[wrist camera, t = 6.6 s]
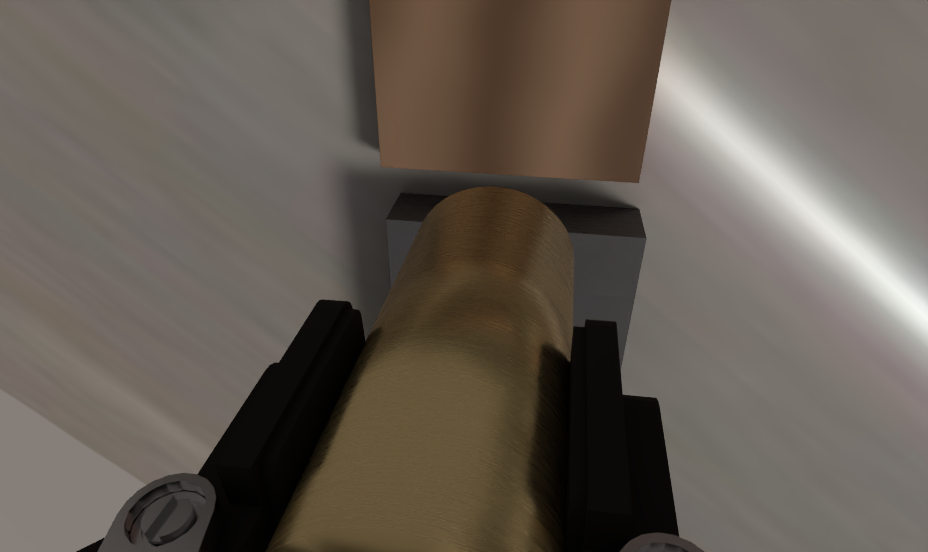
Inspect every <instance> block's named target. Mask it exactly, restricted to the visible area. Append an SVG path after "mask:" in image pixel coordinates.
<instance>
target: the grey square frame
mask: <svg viewBox="0 0 928 552" xmlns="http://www.w3.org/2000/svg"><path fill="white" fill-rule="evenodd" d="M447 197H449V196H435V195H420V194H405V193H400V195H399V197H398V199H397V201H396V202H395V204H394V206H393V208H392V209H391V211H390V213H389V215H388V217H387V218H386V227H387V241H388V255H389V269H390V283H391V287H392V285H393V283H394V281H395V279H396V277H397V275H398V273H399V271H400V268H401V266H402V264H403V262H404V260H405V258H406V256H407V254H408V252H409V250H410V248H411V245H412V243H413V241H414V239H415V237H416V235H417V233H418V231H419V229H420V227H421V224H422V222H423V220H424V219H425V218H426V216H427V215H428V213H429V212H430V211H431V210H432V209H433V208H434V207H435V206H436V205H437V204H438V203H440V202H441V201H442V200H444V199H445V198H447ZM543 204H544V205H546V206H547V207H548V208H549V209H550V210H551V211H552V212H553V213H554V214H555V215H556V216H557V217H558V218H559V219H560V221H561V222H562V224H563V225H564V227H565V228H566V230H567V232H568V234H569V237H570V239H571V243H572V246H573V252H574V288H573V326H578V327H585V320H586V319H589V320H603V321H616V323H617V334H618V346H619V358H620V370H621V365H622V360H623V355H624V350H625V345H626V340H627V334H628V329H629V324H630V319H631V314H632V309H633V304H634V299H635V294H636V288H637V283H638V278H639V273H640V268H641V263H642V258H643V253H644V248H645V243H646V235H645V231H644V227H643V223H642V218H641V214H640V210H639V209H629V208H614V207H599V206H584V205H569V204H554V203H543Z"/></svg>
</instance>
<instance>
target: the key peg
mask: <svg viewBox="0 0 928 552" xmlns="http://www.w3.org/2000/svg"><path fill="white" fill-rule="evenodd" d="M573 288H574V252H573V246H572V243H571V239H570V237H569V234H568V232H567V230H566V228H565V227H564V225H563V224H562V222H561V221H560V219H559V218H558V217H557V216H556V215H555V214H554V213H553V212H552V211H551V210H550V209H549V208H548V207H547V206H546V205H544V204H543V203H541V202H540V201H538V200H537V199H535V198H533V197H531V196H529V195H527V194H525V193H522V192H519V191H517V190H513V189H508V188H504V187H494V186H487V187H476V188H470V189H466V190H462V191H460V192H457V193H455V194H452V195H450V196H449V197H447V198H445V199H444V200H442V201H441V202H440V203H438V204H437V205H436V206H435V207H434V208H433V209H432V210H431V211H430V212H429V213H428V215H427V216H426V218H425V219H424V220H423V222H422V224H421V227H420V229H419V231H418V233H417V235H416V237H415V239H414V241H413V243H412V245H411V248H410V250H409V252H408V254H407V256H406V258H405V260H404V262H403V264H402V266H401V268H400V271H399V273H398V275H397V277H396V279H395V281H394V283H393V285H392V287H391V289H390V292H389V294H388V296H387V298H386V300H385V302H384V304H383V306H382V308H381V310H380V313H379V315H378V317H377V319H376V321H375V323H374V325H373V327H372V329H371V331H370V334H369V336H368V338H367V340H366V342H365V344H364V346H363V348H362V350H361V352H360V355H359V357H358V359H357V361H356V363H355V365H354V367H353V369H352V371H351V373H350V376H349V378H348V380H347V382H346V384H345V386H344V388H343V390H342V392H341V394H340V396H339V399H338V401H337V403H336V405H335V407H334V409H333V411H332V413H331V415H330V417H329V420H328V422H327V424H326V426H325V428H324V430H323V432H322V434H321V436H320V438H319V441H318V443H317V445H316V447H315V449H314V451H313V453H312V455H311V457H310V459H309V462H308V464H307V466H306V468H305V470H304V472H303V474H302V476H301V478H300V480H299V483H298V485H297V487H296V489H295V491H294V493H293V495H292V497H291V499H290V501H289V504H288V506H287V508H286V510H285V512H284V514H283V516H282V518H281V520H280V522H279V524H278V527H277V529H276V531H275V533H274V535H273V537H272V539H271V541H270V543H269V545H268V548H267V550H266V552H565V551H566V509H567V466H568V424H569V382H570V357H571V346H572V334H573Z"/></svg>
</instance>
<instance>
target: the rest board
mask: <svg viewBox="0 0 928 552" xmlns="http://www.w3.org/2000/svg"><path fill="white" fill-rule="evenodd" d="M670 5H671V0H369V8H370V22H371V36H372V49H373V63H374V77H375V91H376V105H377V119H378V132H379V146H380V160H381V167H390V168H406V169H423V170H439V171H455V172H471V173H487V174H503V175H519V176H535V177H551V178H568V179H584V180H600V181H616V182H632V183H639V179H640V173H641V168H642V162H643V156H644V151H645V145H646V140H647V134H648V128H649V123H650V117H651V111H652V106H653V100H654V95H655V89H656V83H657V78H658V72H659V67H660V61H661V55H662V50H663V44H664V38H665V33H666V27H667V22H668V16H669V10H670Z"/></svg>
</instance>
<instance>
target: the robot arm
mask: <svg viewBox="0 0 928 552" xmlns="http://www.w3.org/2000/svg"><path fill="white" fill-rule="evenodd" d="M364 344H365V336H364V330H363V323H362V317H361V313H360V311H359V310H356V309H353V308H352V305H351V303H350V302H348V301H335V300H319V301H318V302H317V304H316V305H315V307H314V308H313V310H312V312H311V313H310V315H309V316H308V318H307V319H306V321H305V323H304V324H303V326H302V327H301V329H300V330H299V332H298V334H297V335H296V337H295V338H294V340H293V341H292V343H291V345H290V346H289V348H288V349H287V351H286V352H285V354H284V356H283V357H282V359H281V360H280V362H279V363H273V364H271V365H270V366H269V367H268V368H267V369H266V370H265V372H264V373H263V375H262V376H261V378H260V379H259V381H258V383H257V384H256V386H255V387H254V389H253V390H252V392H251V393H250V395H249V396H248V398H247V399H246V401H245V402H244V404H243V405H242V407H241V409H240V410H239V412H238V413H237V415H236V416H235V418H234V419H233V421H232V422H231V424H230V425H229V427H228V428H227V430H226V431H225V433H224V435H223V436H222V438H221V439H220V441H219V442H218V444H217V445H216V447H215V448H214V450H213V451H212V453H211V454H210V456H209V457H208V459H207V461H206V462H205V464H204V465H203V467H202V468H201V470H200V471H199V473H198V474H189V473H180V474H174V475H168V476H165V477H163V478H160V479H158V480H155V481H153V482H151V483H149V484H148V485H146V486H145V487H143V488H141V489H140V490H138V491H137V492H136V493H135V494H134V495H133V496H132V497H131V498H130V499H129V500H127V502H126V503H125V504H124V506H123V507H122V508H121V510H120V511H119V513H118V514H117V516H116V518H115V520H114V521H113V523H112V525H111V527H110V529H109V531H108V533H107V535H106V536H105V538H103V539H101V540H99V541H97V542H95V543H93V544H91V545H89V546H87V547H85V548H83V549H81V550H79V551H77V552H266V550H267V548H268V545H269V543H270V541H271V539H272V537H273V535H274V533H275V531H276V529H277V527H278V524H279V522H280V520H281V518H282V516H283V514H284V512H285V510H286V508H287V506H288V504H289V501H290V499H291V497H292V495H293V493H294V491H295V489H296V487H297V485H298V483H299V480H300V478H301V476H302V474H303V472H304V470H305V468H306V466H307V464H308V462H309V459H310V457H311V455H312V453H313V451H314V449H315V447H316V445H317V443H318V441H319V438H320V436H321V434H322V432H323V430H324V428H325V426H326V424H327V422H328V420H329V417H330V415H331V413H332V411H333V409H334V407H335V405H336V403H337V401H338V399H339V396H340V394H341V392H342V390H343V388H344V386H345V384H346V382H347V380H348V378H349V376H350V373H351V371H352V369H353V367H354V365H355V363H356V361H357V359H358V357H359V355H360V352H361V350H362V348H363V346H364ZM565 552H704V551H703V550H701V549H700V548H699V547H697V546H696V545H695V544H693V543H692V542H690V541H688V540H685V539H683V538H680V537H679V532H678V526H677V519H676V512H675V506H674V499H673V493H672V486H671V479H670V473H669V466H668V459H667V453H666V446H665V440H664V433H663V426H662V420H661V413H660V407H659V403H658V400H657V398H651V397H641V396H630V395H622V383H621V370H620V358H619V346H618V334H617V323H616V321H603V320H589V319H586V320H585V327H578V326H573V334H572V346H571V357H570V382H569V424H568V466H567V509H566V551H565Z"/></svg>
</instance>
